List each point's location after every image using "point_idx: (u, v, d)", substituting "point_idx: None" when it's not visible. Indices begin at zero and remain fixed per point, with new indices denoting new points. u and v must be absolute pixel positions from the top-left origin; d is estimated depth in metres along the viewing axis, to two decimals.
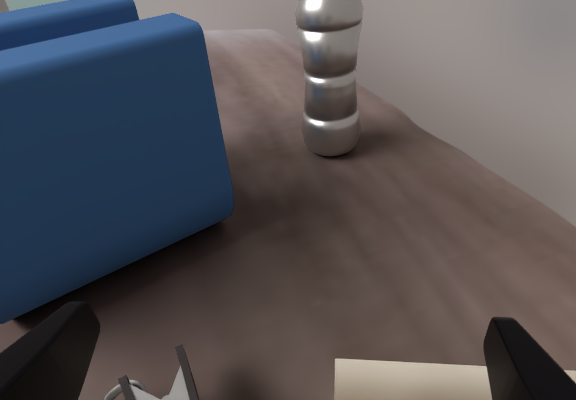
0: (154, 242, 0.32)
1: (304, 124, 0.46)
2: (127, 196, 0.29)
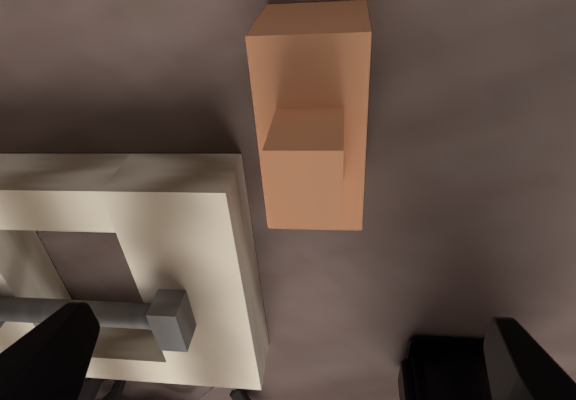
0: None
1: None
2: None
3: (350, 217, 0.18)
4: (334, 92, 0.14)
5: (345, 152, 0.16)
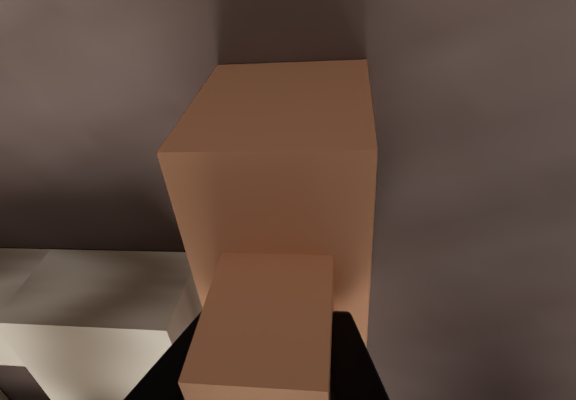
0: None
1: None
2: None
3: None
4: (316, 234, 0.09)
5: (336, 309, 0.10)
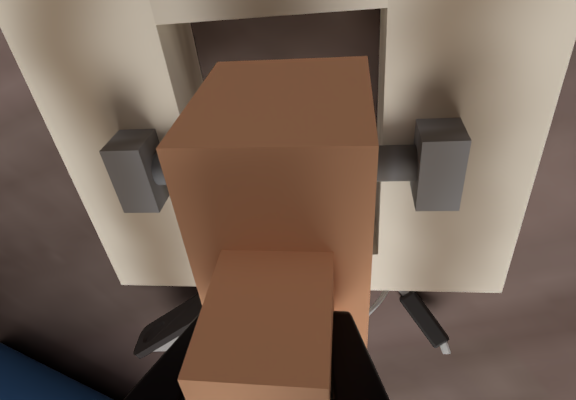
0: None
1: None
2: None
3: None
4: (316, 231, 0.09)
5: (336, 307, 0.10)
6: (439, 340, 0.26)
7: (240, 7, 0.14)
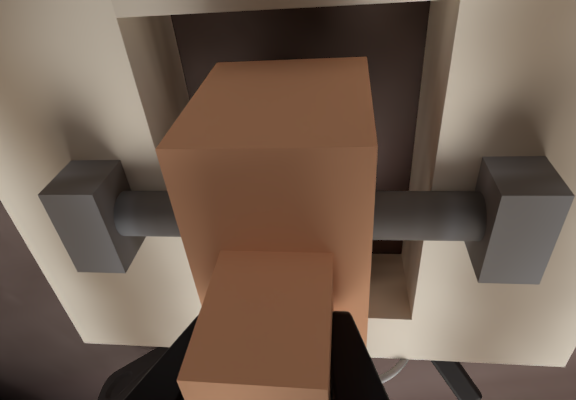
0: None
1: None
2: None
3: None
4: (315, 232, 0.09)
5: (336, 308, 0.10)
6: (470, 398, 0.21)
7: None
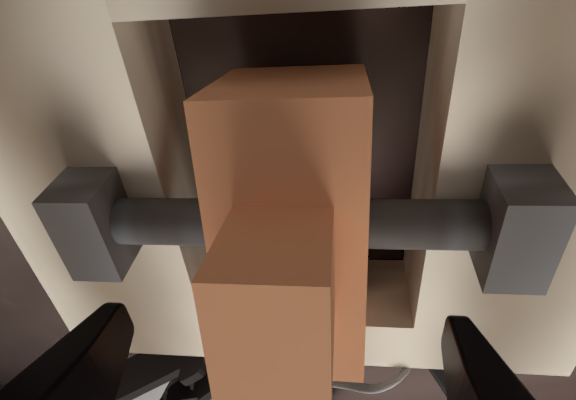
0: None
1: None
2: None
3: (346, 364, 0.12)
4: (319, 184, 0.10)
5: (336, 271, 0.11)
6: None
7: None
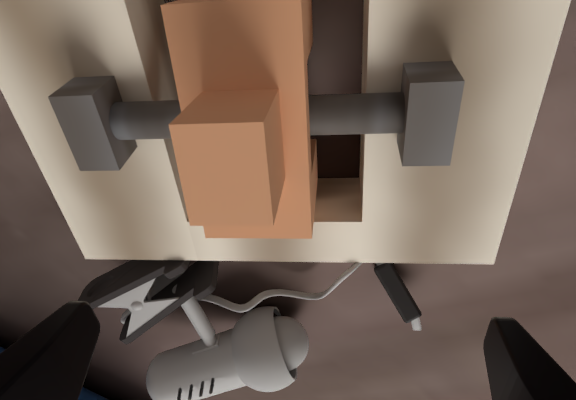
0: None
1: None
2: None
3: (297, 223, 0.15)
4: (266, 70, 0.13)
5: (284, 143, 0.14)
6: (411, 315, 0.25)
7: None
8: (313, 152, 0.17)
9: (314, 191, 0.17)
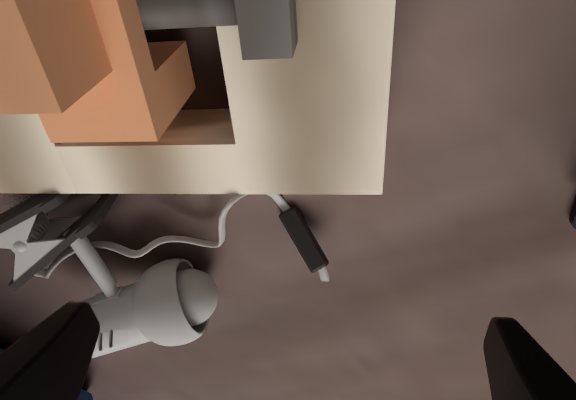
0: None
1: None
2: None
3: (138, 123, 0.14)
4: None
5: (101, 29, 0.13)
6: (317, 264, 0.23)
7: None
8: (173, 52, 0.16)
9: (173, 94, 0.16)
